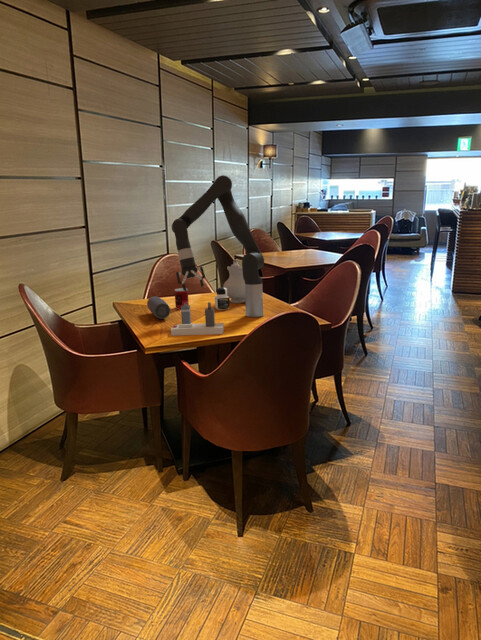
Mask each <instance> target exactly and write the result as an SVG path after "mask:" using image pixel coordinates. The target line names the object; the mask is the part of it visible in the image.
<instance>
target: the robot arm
mask: <svg viewBox="0 0 481 640" xmlns="http://www.w3.org/2000/svg"><path fill="white" fill-rule="evenodd" d="M232 187H233V183H232V178H230V177H229V176H227V175H224V174H223V175H219V176H217V177H216V179H215V180H214V181H213V183H212V184H211V186H210V187H209V188H208V189H207V190H206V191H205V192H204V193H203V194H202V195H201V196H200V197H199V198H198V199H197V200H196V201H194V202H193V204H191V205H190V206H189V207H188V208H187V209H186V210H185V211H184V213H182V215H181V216H180V217H178V218H175V219H174V220H173V222H172V224H171V231H172V232H173V233H174V238H175V246H176V250H177V256H178V260H179V264H180V268H181V271H178V272H176V273H175V274H176V279H177V284H178V285H182V288H183V290H185V291H186V288H187V287H186V284H185V283H186V280H187V279H191V278H195V277H196V278H197V279H199V284H200V287H201V288H203V287H204V281H203V279H205V278H206V274H205V271H204V267H203V266H200V267H197V265H196V260H195V257H194V252H193V249H192V247H191V242H190V237H189V232H188V229H189V227H191V225H192V224H193V223H195V222H196V221H197V220H198V219H200V217H201V216H202V215H204V213H205V212H206V211H207V210H208V208H210V206H211V205H212V204H213V203H214V202H215V201H216V200H218V201H219V204H220V205H221V207H222V210H223V213H224V215H225V218H226V222H227V223H228V226H229V228H230V231H231V233H232V234H233V236H234V238H236V240H237V241H239V243H240V244H241V245H242V246H243V248H244V250H245V252H246V253H245V254H244V256H242V260H241V266H242V272H243V278H244V281H245V302H244V303H245V306H244V307H245V316H246V317H248V318H259V317H264V294H263V293H264V292H263V278H262V277H261V276H260V275H259V270H260V269H262V268H263V267H264V265H265V258H264V255H263V253H262V250H261V249H260V247H259V246H258V244H257V242H256V241H255V239H254V236H253V233H252V230H251V229H250V227H249V224H248V222H247V219H246V217H245V214H244V213H243V211H242V210H241V208H240V207H239V206H238V204H237V203H236V201H235V199H234V195H233V194H232ZM198 271H199V272H201V275H199V274H198ZM181 275H182V276H183V278H182V281H181V278H180V277H181Z"/></svg>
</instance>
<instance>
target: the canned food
mask: <svg viewBox="0 0 481 640" xmlns="http://www.w3.org/2000/svg"><path fill="white" fill-rule="evenodd" d="M174 301H175V302H174V303H175V308H176V310H181V306H185V305H189V303H190V302H189V291H188V288H187V287H186V291H185V290H183V287H180V288H175V289H174Z"/></svg>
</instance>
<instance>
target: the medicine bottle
mask: <svg viewBox="0 0 481 640" xmlns="http://www.w3.org/2000/svg"><path fill="white" fill-rule="evenodd" d="M215 291H216V295H214V306H215V308H214V309H216V310H217V311H224V310H225V311H226V310H230V309H231V302H230V301H231V298H230V297H229V296H227V288H223V287H217V288H216V290H215Z"/></svg>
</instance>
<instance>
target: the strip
mask: <svg viewBox="0 0 481 640" xmlns="http://www.w3.org/2000/svg"><path fill="white" fill-rule="evenodd" d="M215 316H216V315H215V308H214V307H212V302H207V308H206V307H205V309H204V318H205V323H191V324H182V323H180V324H177V323H176V324H173V325H172V326H171V329H170V336H174V337H175V336H199V335H201V336H202V335H203V336H204V335H205V336H206V335H223V334H224V331H225V327H224V326H225V323H224V322H215V321H216V320H215Z"/></svg>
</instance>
